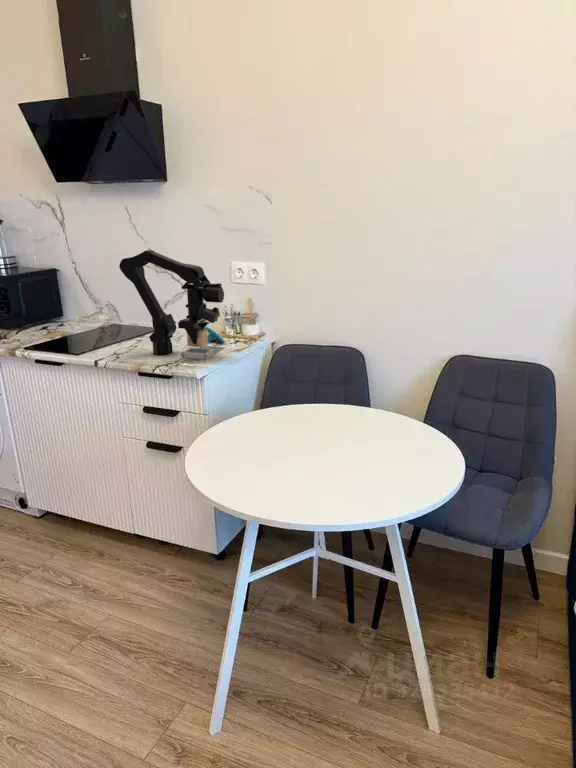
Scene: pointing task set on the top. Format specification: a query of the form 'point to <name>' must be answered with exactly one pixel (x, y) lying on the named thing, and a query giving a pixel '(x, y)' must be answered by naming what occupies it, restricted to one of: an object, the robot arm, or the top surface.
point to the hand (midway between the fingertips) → (197, 342)
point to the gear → (213, 335)
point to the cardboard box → (199, 339)
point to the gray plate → (200, 352)
